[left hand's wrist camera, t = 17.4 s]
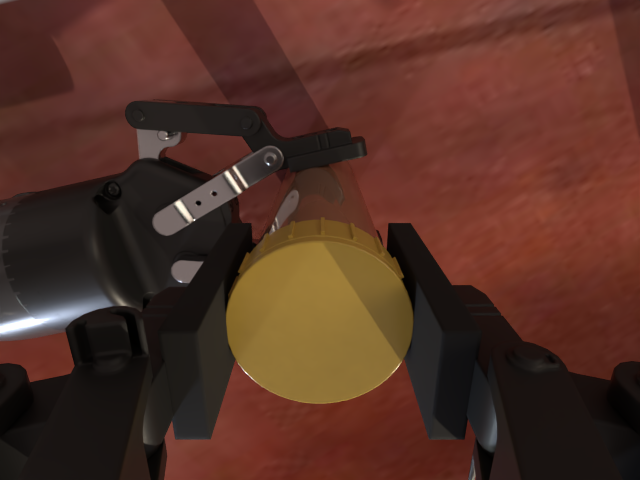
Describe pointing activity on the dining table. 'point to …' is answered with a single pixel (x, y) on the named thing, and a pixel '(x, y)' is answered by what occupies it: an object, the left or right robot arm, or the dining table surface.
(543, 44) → the dining table surface
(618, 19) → the dining table surface
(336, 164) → the jar
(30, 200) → the right robot arm
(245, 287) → the lid
